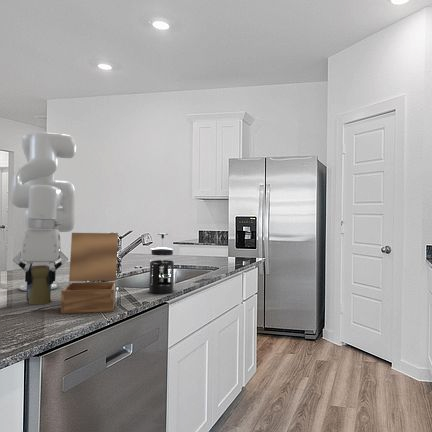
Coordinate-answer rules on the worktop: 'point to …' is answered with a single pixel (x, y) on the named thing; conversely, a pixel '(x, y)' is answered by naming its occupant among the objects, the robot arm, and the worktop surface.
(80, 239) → the lid
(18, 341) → the worktop surface
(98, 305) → the chest
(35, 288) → the cork
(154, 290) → the french press
